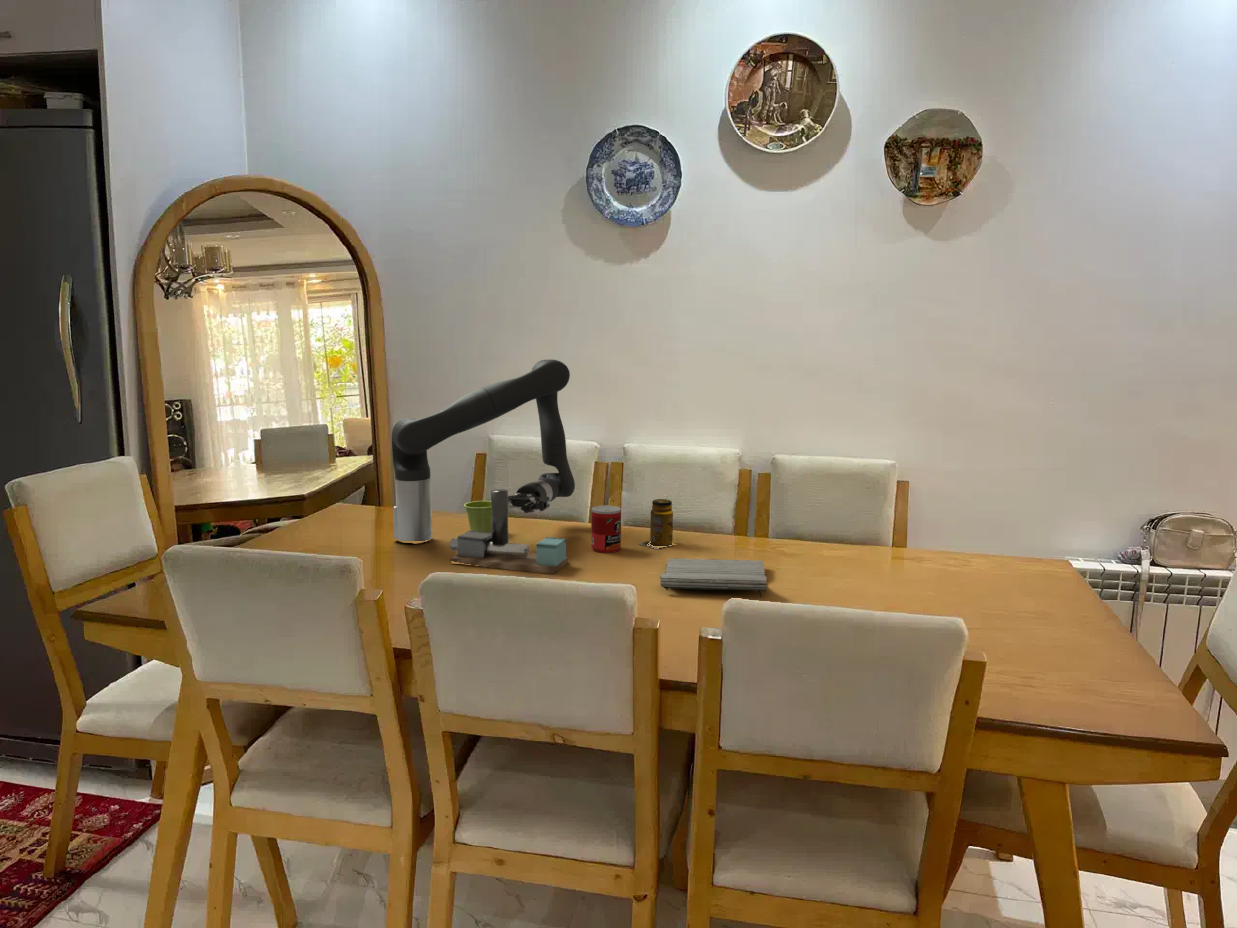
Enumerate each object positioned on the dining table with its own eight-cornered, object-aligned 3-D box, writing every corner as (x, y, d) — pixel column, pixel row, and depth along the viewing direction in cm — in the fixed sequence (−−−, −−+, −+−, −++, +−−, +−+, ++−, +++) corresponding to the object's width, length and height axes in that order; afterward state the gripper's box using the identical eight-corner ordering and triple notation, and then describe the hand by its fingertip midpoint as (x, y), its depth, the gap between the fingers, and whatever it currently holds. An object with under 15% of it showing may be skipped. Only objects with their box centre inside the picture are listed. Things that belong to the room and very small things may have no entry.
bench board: (450, 563, 201) (450, 557, 201) (469, 553, 211) (469, 547, 210) (553, 574, 194) (553, 567, 193) (568, 562, 203) (568, 556, 203)
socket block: (536, 564, 196) (536, 543, 195) (547, 556, 203) (546, 537, 202) (556, 566, 195) (555, 545, 194) (566, 558, 201) (566, 538, 200)
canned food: (609, 554, 210) (609, 513, 209) (585, 549, 215) (585, 508, 213) (626, 548, 216) (627, 507, 215) (603, 543, 221) (603, 503, 219)
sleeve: (457, 556, 202) (457, 536, 202) (469, 549, 208) (469, 530, 208) (483, 558, 200) (483, 539, 200) (494, 552, 206) (494, 532, 206)
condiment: (679, 544, 221) (680, 500, 219) (657, 550, 215) (658, 505, 213) (659, 539, 226) (660, 496, 224) (638, 544, 221) (638, 501, 219)
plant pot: (458, 536, 227) (457, 506, 226) (474, 529, 236) (473, 499, 235) (489, 539, 225) (488, 508, 223) (503, 531, 233) (503, 501, 232)
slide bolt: (449, 552, 204) (447, 488, 202) (456, 548, 208) (455, 486, 206) (523, 559, 199) (522, 494, 196) (529, 555, 202) (529, 491, 200)
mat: (763, 570, 200) (764, 551, 199) (766, 602, 177) (767, 580, 176) (668, 565, 203) (668, 547, 202) (659, 596, 180) (659, 575, 179)
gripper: (510, 480, 223) (483, 491, 208) (559, 483, 219) (536, 495, 204) (510, 507, 224) (484, 520, 209) (559, 511, 220) (536, 524, 205)
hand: (509, 507), depth 206 cm, fingers open, 8 cm apart
